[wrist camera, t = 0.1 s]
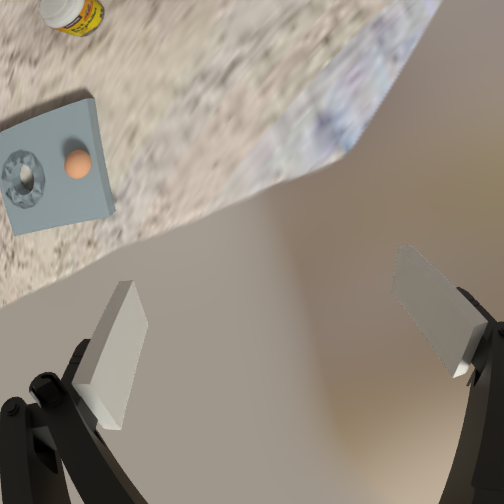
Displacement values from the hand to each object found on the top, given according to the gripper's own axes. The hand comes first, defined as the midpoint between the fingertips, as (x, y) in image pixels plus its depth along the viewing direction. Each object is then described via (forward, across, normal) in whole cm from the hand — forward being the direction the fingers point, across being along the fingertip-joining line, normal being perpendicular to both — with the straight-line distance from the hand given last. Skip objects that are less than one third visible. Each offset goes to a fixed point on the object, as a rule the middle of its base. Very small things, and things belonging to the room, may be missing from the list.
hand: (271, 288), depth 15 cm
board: (+28, -27, +5) cm, 39 cm away
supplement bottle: (+28, -18, +25) cm, 42 cm away
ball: (+24, -20, +5) cm, 31 cm away
